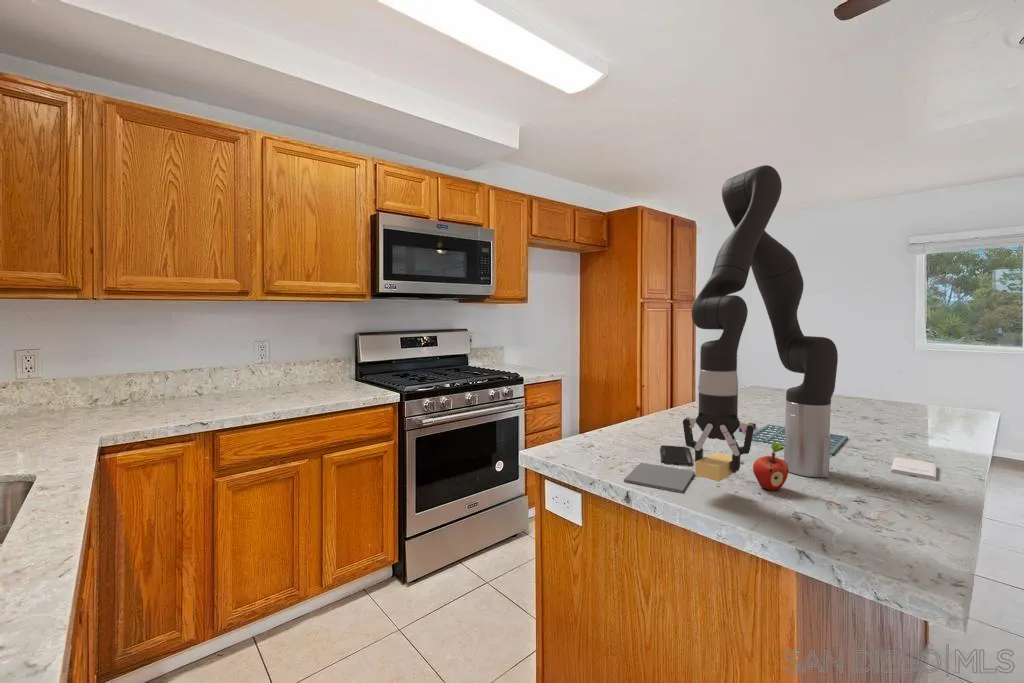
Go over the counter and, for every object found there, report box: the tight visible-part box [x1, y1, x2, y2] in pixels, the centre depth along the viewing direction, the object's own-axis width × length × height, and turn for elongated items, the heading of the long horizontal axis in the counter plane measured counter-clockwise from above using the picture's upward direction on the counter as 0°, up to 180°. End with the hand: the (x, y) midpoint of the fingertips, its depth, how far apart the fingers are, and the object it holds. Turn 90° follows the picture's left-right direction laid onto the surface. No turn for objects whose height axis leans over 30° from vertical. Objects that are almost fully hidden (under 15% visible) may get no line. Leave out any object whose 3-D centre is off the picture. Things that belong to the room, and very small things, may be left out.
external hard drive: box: [890, 456, 937, 481], centre depth 115 cm, size 2×8×12 cm
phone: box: [659, 444, 693, 466], centre depth 126 cm, size 8×1×15 cm
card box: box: [694, 452, 738, 482], centre depth 98 cm, size 5×9×3 cm, turn 131°
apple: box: [752, 442, 789, 491], centre depth 103 cm, size 8×7×10 cm
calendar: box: [733, 422, 848, 459], centre depth 144 cm, size 27×29×2 cm
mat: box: [623, 462, 695, 493], centre depth 109 cm, size 13×14×1 cm
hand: (717, 469), depth 98 cm, fingers closed on card box, 6 cm apart
